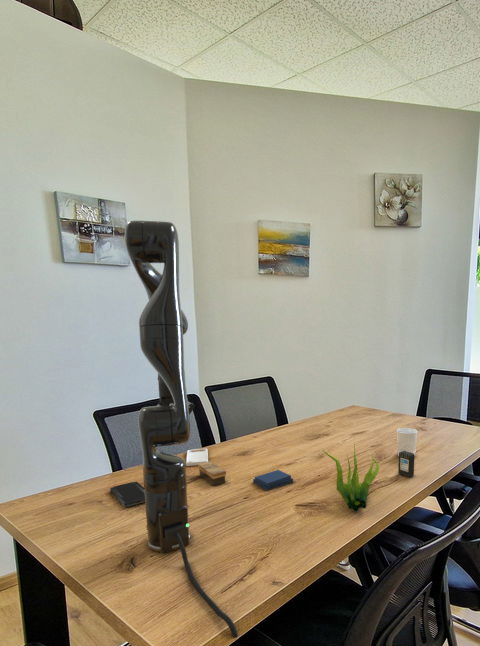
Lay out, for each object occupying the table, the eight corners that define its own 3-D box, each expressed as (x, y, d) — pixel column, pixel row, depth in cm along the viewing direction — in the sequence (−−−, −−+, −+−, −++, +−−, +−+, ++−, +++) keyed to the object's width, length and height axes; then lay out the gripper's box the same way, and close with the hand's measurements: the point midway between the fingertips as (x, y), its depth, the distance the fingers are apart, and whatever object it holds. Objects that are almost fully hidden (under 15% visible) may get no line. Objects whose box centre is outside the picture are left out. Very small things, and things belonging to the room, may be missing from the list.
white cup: (419, 454, 166) (420, 429, 165) (411, 460, 160) (412, 434, 158) (400, 451, 171) (401, 426, 169) (392, 456, 164) (393, 431, 162)
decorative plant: (385, 476, 145) (387, 434, 142) (365, 516, 117) (366, 464, 114) (334, 470, 150) (335, 429, 147) (303, 507, 122) (303, 457, 119)
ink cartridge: (397, 474, 147) (398, 451, 145) (402, 472, 148) (402, 450, 147) (409, 478, 143) (410, 455, 142) (413, 476, 145) (414, 453, 144)
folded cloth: (293, 482, 139) (293, 475, 139) (266, 490, 133) (265, 483, 132) (279, 475, 145) (279, 468, 145) (253, 482, 139) (252, 475, 138)
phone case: (207, 464, 154) (207, 451, 168) (207, 460, 154) (207, 448, 168) (186, 466, 152) (187, 453, 166) (185, 462, 152) (187, 449, 166)
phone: (136, 481, 136) (153, 496, 125) (136, 484, 136) (153, 499, 125) (108, 487, 131) (124, 504, 120) (109, 491, 131) (124, 508, 120)
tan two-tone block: (226, 483, 138) (226, 471, 137) (213, 486, 135) (212, 474, 135) (210, 472, 147) (210, 461, 146) (198, 475, 144) (197, 463, 144)
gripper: (152, 384, 121) (156, 443, 124) (198, 379, 130) (201, 434, 133) (144, 380, 127) (148, 437, 130) (188, 376, 135) (191, 429, 138)
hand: (175, 435), depth 131 cm, fingers closed
